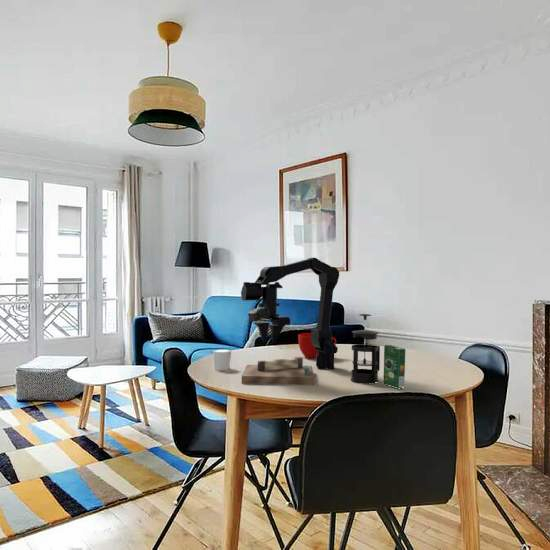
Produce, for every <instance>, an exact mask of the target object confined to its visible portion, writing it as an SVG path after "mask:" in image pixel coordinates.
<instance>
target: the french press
mask: <svg viewBox="0 0 550 550" xmlns="http://www.w3.org/2000/svg"><path fill="white" fill-rule="evenodd" d="M358 316H361V317H363V320H364V326H363V327H364V329H359V330H352V331H351V333H352V337H353V338H358V337H359V338H363V339H364V343H362V344H360V343H359V344H358V343H357V344H352V345H351V350H352V352H353V355H352V357H353V360H352V361H351V362H352V369H351V370H350V372H351V373H350V375H351V376H350V377H351V378H350V381H351V382H352V383H355V384H360V383H361V384H362V383H363V384H362V385H370V384H369V383H374V384H376V383H375V382H378V383H379V379H378V378H379V377H378V375H379V372H380V368H381V367H380V363H381V358H380V357H381V355H380V354H381V352H380V351H381V350H380V349H381V345H375V344H366V341H367V340H369V341H370V340H377V339H378V334H379V332H378V331H374V330H371V329H370V330H368V329H366V325H367V324H366V322H367V318H368V317H371V316H372V314H367V313H361V314H360V313H359V314H358ZM359 353H363V359H359ZM366 353H371V360H367V359H366ZM359 366H360V367H371V368H359Z"/></svg>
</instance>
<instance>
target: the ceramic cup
mask: <svg viewBox="0 0 550 550" xmlns="http://www.w3.org/2000/svg"><path fill="white" fill-rule="evenodd" d="M310 337H311V332H302V333H299V334H298V337H297V339H298V346H299V350H300V352H301V354H302V355H303V356H304V357H305V358H306V359H315V360H316V355H318V351H316V350H315V346H314V345H313V344H312V342H311V339H310ZM332 340H333V341H334V342H333V343H334V344H335V346H337V339H336V338H335V337H332Z"/></svg>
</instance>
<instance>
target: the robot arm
mask: <svg viewBox="0 0 550 550" xmlns="http://www.w3.org/2000/svg"><path fill="white" fill-rule="evenodd" d="M306 270H307V271H308V270H311V271H312V272H313V273H314V274H315V275H317V276H318V283H319V287H320V296H319V305H318V306H319V307H318V313H317V324H316V326H315V328H311V329H310V333H311V337H310V339H311V342H312V344H313V345H314V346H315V350H316V351H318V355H316V358H315V367H316V368H317V369H318V370H335V354H337V352H338V346H337V345H335V344H334V343H335V342H333V339H332V338H333V334H332V331H331V328H330V325H331V323H330V322H331V314H332V306H333V295H334V294H333V293H334V290H335V288H336V286H337V285H338V282H339V278H340V270H339V269H338V268H336V267H335V266H331V265H329V264H327V263H325V261H324V262H323V261H322V260H320V259H318V258H317V257H309V258H307V259H303V260H298V261H296V262H292V263H288V264H284V265H276V266H275V265H274V266H264V267H263V268H262V269H261V270H260V273H259V276H258V277H257V278H256V280H255V282H249V281H244V282H243V284H242V287H241V290H240V295H241V296H240V297H241V300H242V301H246V302H247V301H250V302H251V301H253V302H254V301H259V300H260V299H261V302H259V303H258V307H256V308H254V309H252V310H249V311H248V312H247V314H248V315H247V316H248V322H251V323H253V325H255V326H256V327H257V328H258V331H259V334H260V337H261V340H262V342H263V343H264V342H266V341H267V337H268V333H269V328H270V330H271V332H270V333H271V343H272V344H276V342H277V340H278V338H279V336H280V334H281V332H282V330H283V329H284V327H286V326H288V325H289V326H290V325H291V318H290V316H285V315H280V314H279V313H278V312H277V311H278V307H280V303H279V302H278V289H283V285H281V284H280V282H279V281H280V280H282V279H284V278H285V277H286V276H289V275H292V274H296V273H300V272H303V271H306ZM264 285H265V286H264Z"/></svg>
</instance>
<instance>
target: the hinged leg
mask: <svg viewBox="0 0 550 550" xmlns="http://www.w3.org/2000/svg"><path fill="white" fill-rule="evenodd" d="M303 360H304V358H303V357H301V356H296V357H292V358H281V359H280V358H279V359H267V360H258V361H257V365H258V371H266V370H276V369H287V368H300V367H303V366H304V364H303V362H304V361H303Z"/></svg>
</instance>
